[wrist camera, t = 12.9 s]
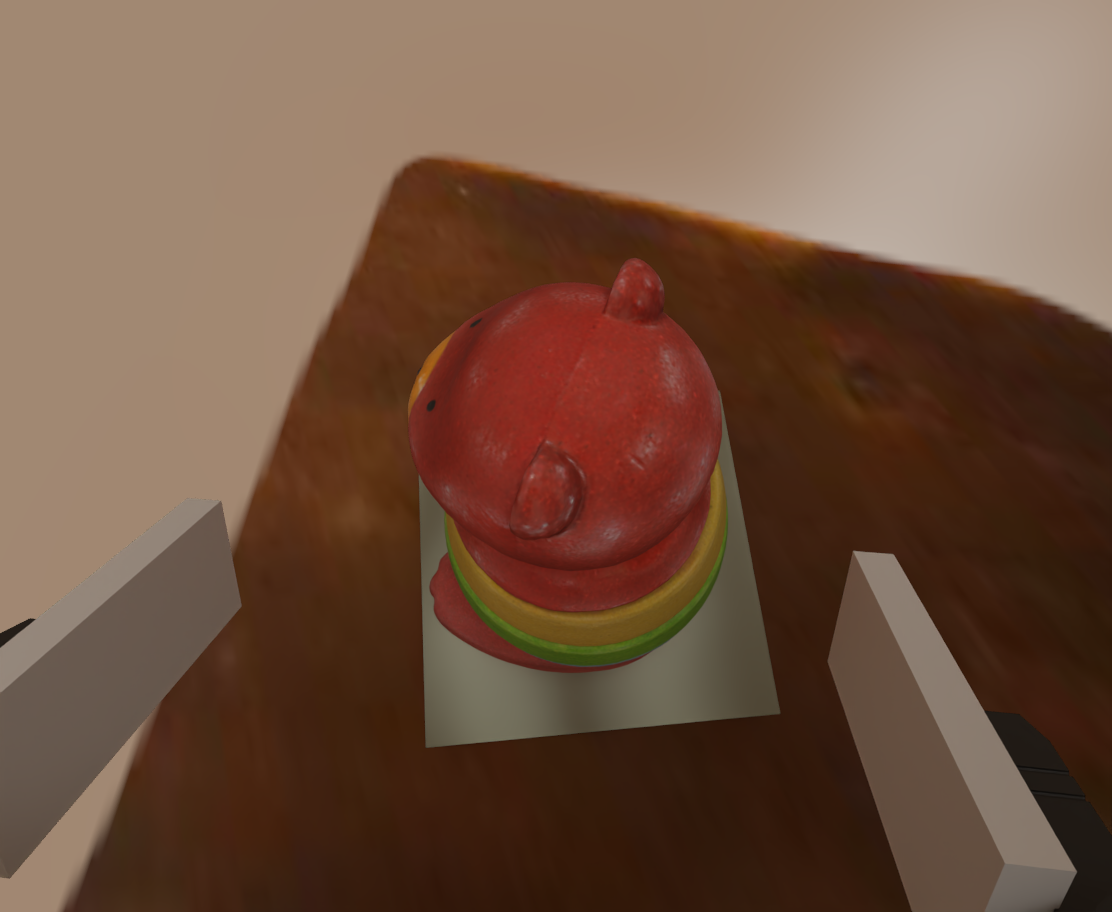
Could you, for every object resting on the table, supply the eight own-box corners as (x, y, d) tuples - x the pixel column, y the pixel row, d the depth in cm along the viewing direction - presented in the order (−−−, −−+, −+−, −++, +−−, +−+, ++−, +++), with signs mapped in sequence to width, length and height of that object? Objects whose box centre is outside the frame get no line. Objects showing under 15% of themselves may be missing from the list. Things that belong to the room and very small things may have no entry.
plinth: (710, 416, 36) (719, 390, 33) (763, 714, 31) (780, 713, 28) (431, 445, 36) (417, 422, 33) (441, 745, 31) (425, 747, 28)
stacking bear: (540, 404, 33) (482, 86, 16) (743, 504, 31) (912, 255, 14) (413, 611, 30) (184, 479, 13) (627, 738, 28) (670, 769, 11)
